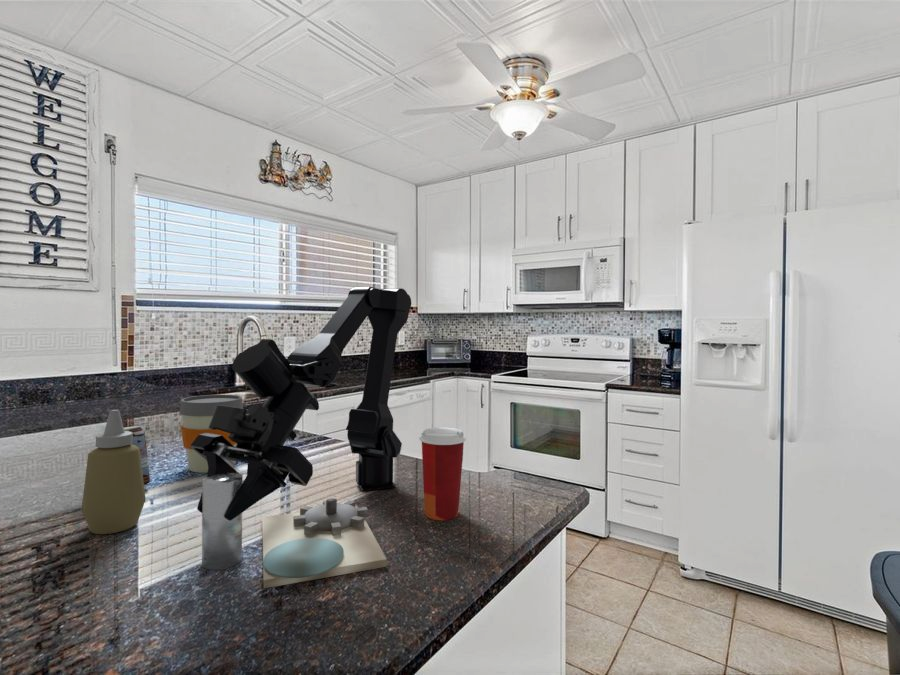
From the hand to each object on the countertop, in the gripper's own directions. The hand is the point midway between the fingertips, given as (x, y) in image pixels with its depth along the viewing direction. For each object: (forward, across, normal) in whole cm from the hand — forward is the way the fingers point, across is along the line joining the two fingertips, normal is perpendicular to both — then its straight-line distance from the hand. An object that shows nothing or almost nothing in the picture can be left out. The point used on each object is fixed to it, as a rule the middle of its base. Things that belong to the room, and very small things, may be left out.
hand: (213, 515), depth 62 cm
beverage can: (-3, -38, +13) cm, 40 cm away
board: (-3, +8, +13) cm, 15 cm away
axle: (+4, 0, +6) cm, 7 cm away
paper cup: (-16, +18, +26) cm, 35 cm away
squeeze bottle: (+4, -23, +6) cm, 24 cm away
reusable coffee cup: (-16, -38, +25) cm, 49 cm away
